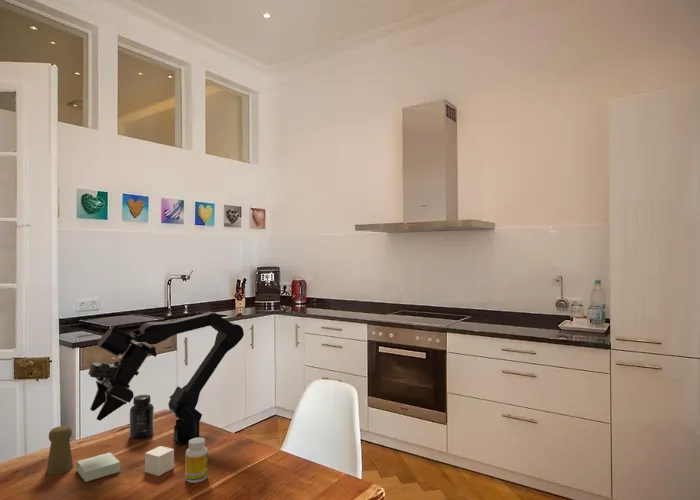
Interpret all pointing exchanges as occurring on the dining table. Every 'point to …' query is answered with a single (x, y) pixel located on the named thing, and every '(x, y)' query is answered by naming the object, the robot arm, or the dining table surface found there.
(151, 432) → the supplement bottle
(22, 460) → the dining table surface
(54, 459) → the cork
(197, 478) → the supplement bottle
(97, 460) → the base brick
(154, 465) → the brick
